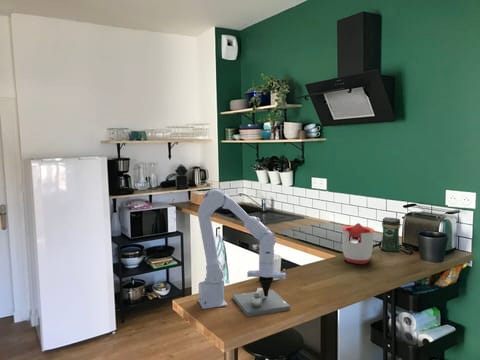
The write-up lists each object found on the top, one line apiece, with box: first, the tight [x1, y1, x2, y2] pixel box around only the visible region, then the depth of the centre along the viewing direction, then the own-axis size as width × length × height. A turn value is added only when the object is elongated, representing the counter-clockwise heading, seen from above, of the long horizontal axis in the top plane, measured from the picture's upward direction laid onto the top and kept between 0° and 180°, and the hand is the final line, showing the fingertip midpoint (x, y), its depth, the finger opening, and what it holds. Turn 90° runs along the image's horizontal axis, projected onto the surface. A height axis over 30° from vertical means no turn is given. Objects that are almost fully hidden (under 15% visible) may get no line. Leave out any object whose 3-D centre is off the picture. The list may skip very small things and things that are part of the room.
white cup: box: [273, 253, 282, 281], centre depth 177 cm, size 8×8×10 cm
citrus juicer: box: [341, 222, 375, 265], centre depth 201 cm, size 16×17×20 cm
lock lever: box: [252, 287, 264, 308], centre depth 148 cm, size 12×4×3 cm, turn 169°
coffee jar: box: [380, 216, 401, 253], centre depth 222 cm, size 10×8×19 cm
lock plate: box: [232, 289, 291, 317], centre depth 149 cm, size 17×16×6 cm
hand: (266, 295), depth 151 cm, fingers closed
